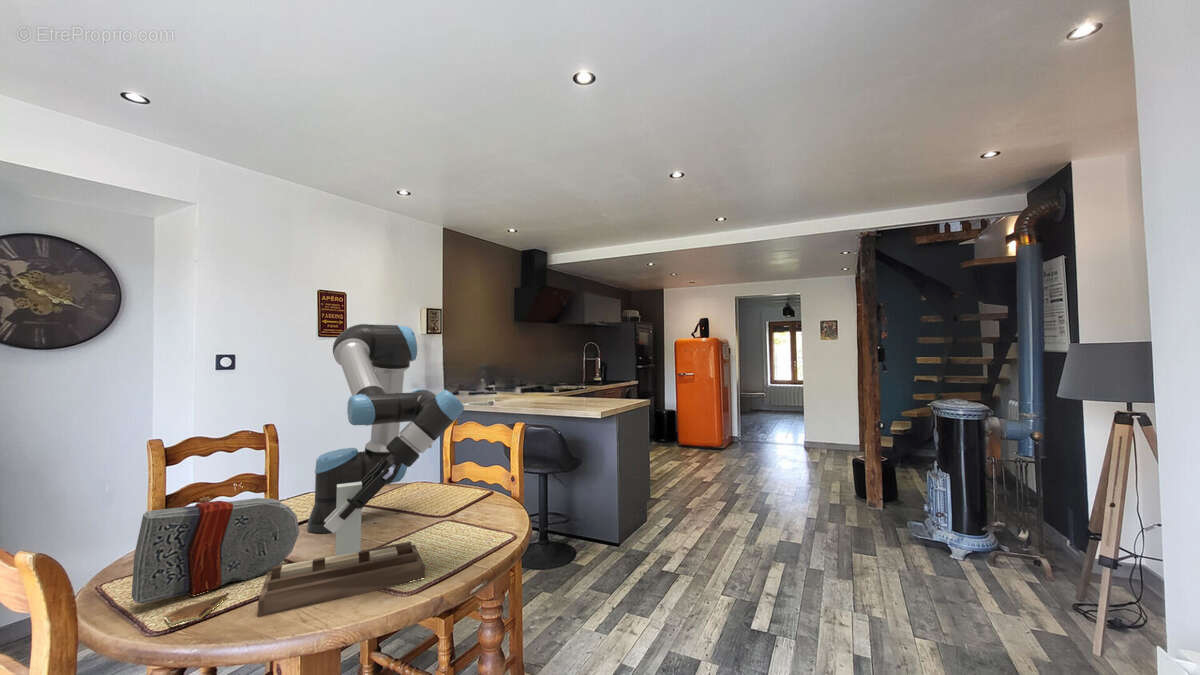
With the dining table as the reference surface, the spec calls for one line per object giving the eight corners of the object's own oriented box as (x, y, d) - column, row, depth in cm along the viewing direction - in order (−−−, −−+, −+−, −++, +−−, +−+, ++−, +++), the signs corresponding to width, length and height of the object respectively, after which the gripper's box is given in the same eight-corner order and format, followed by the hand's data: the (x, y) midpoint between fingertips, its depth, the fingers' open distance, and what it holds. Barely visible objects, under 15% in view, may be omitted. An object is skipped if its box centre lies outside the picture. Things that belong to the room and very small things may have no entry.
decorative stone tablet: (147, 514, 97) (305, 494, 121) (140, 508, 101) (295, 490, 125) (131, 613, 95) (296, 574, 119) (125, 604, 99) (286, 567, 122)
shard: (228, 599, 103) (229, 591, 103) (240, 610, 99) (241, 601, 99) (162, 621, 95) (162, 612, 95) (172, 634, 90) (172, 624, 90)
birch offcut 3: (369, 570, 116) (369, 551, 117) (395, 565, 119) (395, 546, 120) (370, 576, 113) (370, 557, 113) (397, 570, 116) (397, 552, 116)
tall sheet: (335, 551, 107) (336, 484, 108) (360, 547, 109) (361, 481, 110) (335, 556, 104) (337, 487, 105) (360, 551, 107) (362, 484, 107)
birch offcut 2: (324, 579, 112) (325, 557, 112) (357, 572, 115) (358, 551, 116) (324, 586, 108) (324, 563, 109) (358, 578, 112) (358, 557, 112)
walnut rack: (267, 585, 109) (267, 567, 109) (414, 556, 124) (414, 540, 125) (257, 616, 95) (258, 596, 95) (424, 579, 111) (424, 562, 111)
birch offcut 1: (281, 587, 108) (282, 565, 108) (312, 581, 111) (312, 559, 111) (279, 595, 104) (280, 571, 104) (311, 588, 107) (312, 566, 107)
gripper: (426, 460, 108) (342, 548, 99) (415, 449, 122) (341, 526, 113) (402, 439, 106) (314, 527, 97) (393, 430, 120) (316, 507, 111)
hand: (329, 526), depth 105 cm, fingers closed on tall sheet, 3 cm apart
